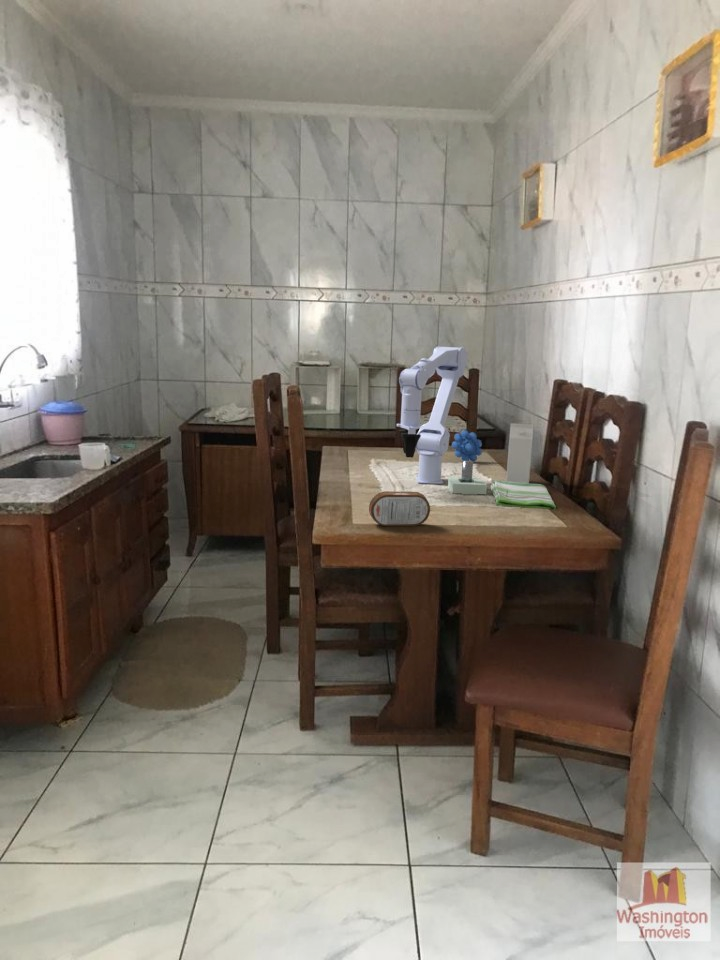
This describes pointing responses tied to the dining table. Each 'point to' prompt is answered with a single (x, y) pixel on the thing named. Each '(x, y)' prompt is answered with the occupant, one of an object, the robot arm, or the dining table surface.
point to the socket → (467, 486)
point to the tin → (399, 508)
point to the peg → (467, 471)
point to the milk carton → (519, 453)
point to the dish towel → (521, 495)
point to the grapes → (467, 446)
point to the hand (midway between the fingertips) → (408, 455)
